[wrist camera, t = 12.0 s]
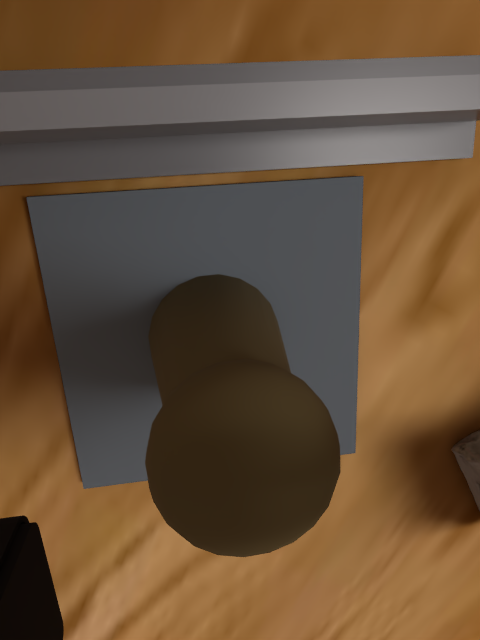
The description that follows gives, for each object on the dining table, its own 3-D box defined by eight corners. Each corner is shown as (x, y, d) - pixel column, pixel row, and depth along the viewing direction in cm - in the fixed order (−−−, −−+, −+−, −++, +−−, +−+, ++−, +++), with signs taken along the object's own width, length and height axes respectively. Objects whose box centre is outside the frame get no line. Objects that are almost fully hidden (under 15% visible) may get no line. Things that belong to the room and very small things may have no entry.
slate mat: (357, 175, 20) (363, 176, 20) (351, 446, 25) (355, 452, 24) (30, 196, 19) (26, 197, 18) (86, 481, 23) (83, 488, 23)
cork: (305, 327, 22) (425, 471, 11) (223, 419, 22) (264, 631, 12) (205, 246, 20) (239, 328, 9) (120, 349, 21) (67, 528, 10)
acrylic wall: (473, 58, 19) (584, 16, 14) (464, 157, 21) (563, 153, 15) (-78, 76, 17) (-191, 34, 12) (-50, 188, 18) (-142, 195, 13)
